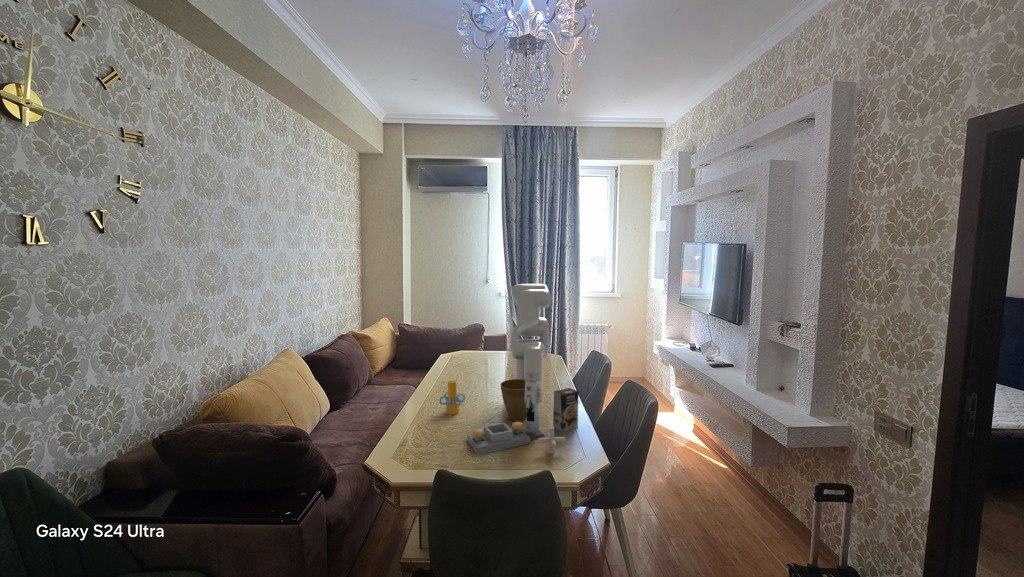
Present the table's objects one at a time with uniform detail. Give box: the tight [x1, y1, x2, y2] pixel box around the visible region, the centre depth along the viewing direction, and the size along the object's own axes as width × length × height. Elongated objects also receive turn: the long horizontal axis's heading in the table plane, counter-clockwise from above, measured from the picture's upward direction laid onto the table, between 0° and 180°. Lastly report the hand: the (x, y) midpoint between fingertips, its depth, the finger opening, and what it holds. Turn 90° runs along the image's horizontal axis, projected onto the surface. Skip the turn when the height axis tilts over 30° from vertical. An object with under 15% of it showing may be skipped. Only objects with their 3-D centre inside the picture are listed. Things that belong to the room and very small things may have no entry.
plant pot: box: [500, 378, 527, 422], centre depth 199 cm, size 15×15×16 cm
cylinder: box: [439, 379, 466, 416], centre depth 205 cm, size 12×10×15 cm
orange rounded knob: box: [472, 428, 484, 443], centre depth 172 cm, size 4×4×4 cm
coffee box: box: [552, 387, 579, 432], centre depth 189 cm, size 9×6×16 cm
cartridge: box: [526, 402, 540, 430], centre depth 181 cm, size 5×5×13 cm
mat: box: [521, 428, 545, 440], centre depth 182 cm, size 7×7×1 cm
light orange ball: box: [511, 421, 524, 435], centre depth 179 cm, size 4×4×4 cm
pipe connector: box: [537, 426, 566, 455], centre depth 166 cm, size 10×10×10 cm
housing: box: [466, 422, 531, 455], centre depth 175 cm, size 22×13×6 cm, turn 114°
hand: (532, 418), depth 181 cm, fingers closed on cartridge, 5 cm apart
